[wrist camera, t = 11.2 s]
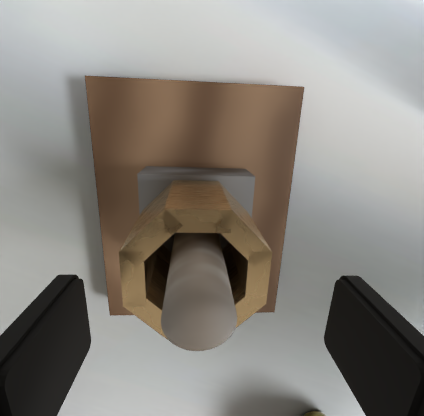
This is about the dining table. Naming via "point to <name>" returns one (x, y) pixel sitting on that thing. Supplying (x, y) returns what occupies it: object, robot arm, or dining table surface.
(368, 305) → the robot arm
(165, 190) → the hub
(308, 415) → the cup
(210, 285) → the shaft stand
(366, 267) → the dining table surface
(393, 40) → the dining table surface
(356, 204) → the dining table surface
